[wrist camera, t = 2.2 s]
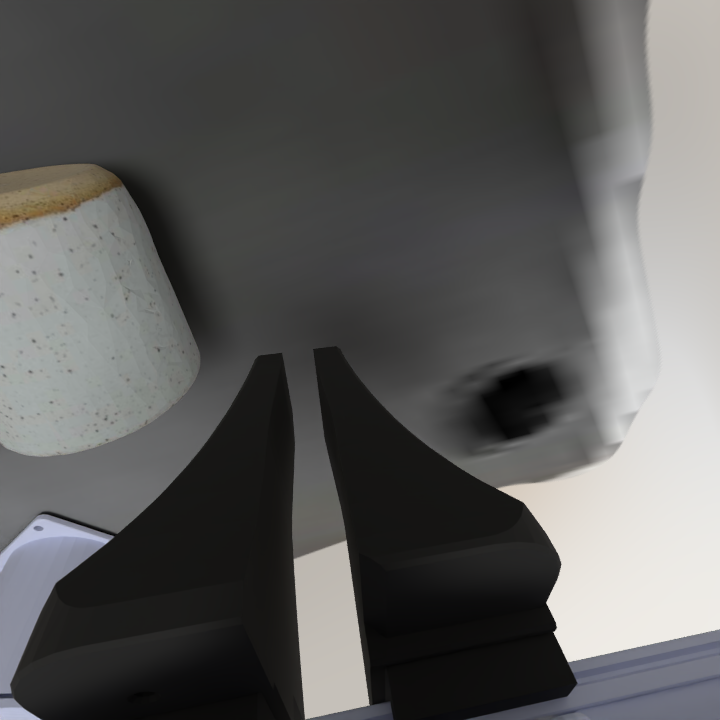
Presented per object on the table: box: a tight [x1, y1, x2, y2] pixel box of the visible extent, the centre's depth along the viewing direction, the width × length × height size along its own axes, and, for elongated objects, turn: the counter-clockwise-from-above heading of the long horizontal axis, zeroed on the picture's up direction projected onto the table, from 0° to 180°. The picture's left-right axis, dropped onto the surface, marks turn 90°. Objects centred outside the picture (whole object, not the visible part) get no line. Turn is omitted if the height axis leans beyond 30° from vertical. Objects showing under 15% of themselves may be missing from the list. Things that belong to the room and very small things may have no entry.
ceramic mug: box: [0, 164, 200, 456], centre depth 15 cm, size 11×8×8 cm
